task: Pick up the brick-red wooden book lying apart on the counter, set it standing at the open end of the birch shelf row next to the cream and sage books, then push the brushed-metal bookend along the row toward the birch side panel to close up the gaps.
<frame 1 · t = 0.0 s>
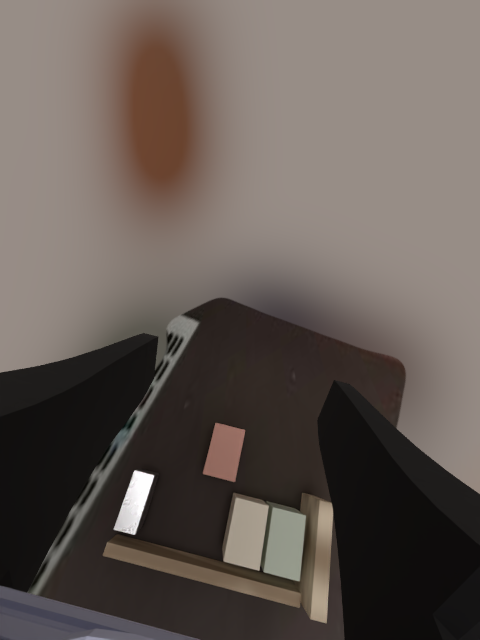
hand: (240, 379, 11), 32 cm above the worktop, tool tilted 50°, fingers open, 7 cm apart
book a: (276, 531, 35), on the worktop
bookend: (142, 496, 36), on the worktop
book b: (242, 522, 36), on the worktop
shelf: (303, 538, 35), on the worktop
book c: (223, 451, 39), on the worktop
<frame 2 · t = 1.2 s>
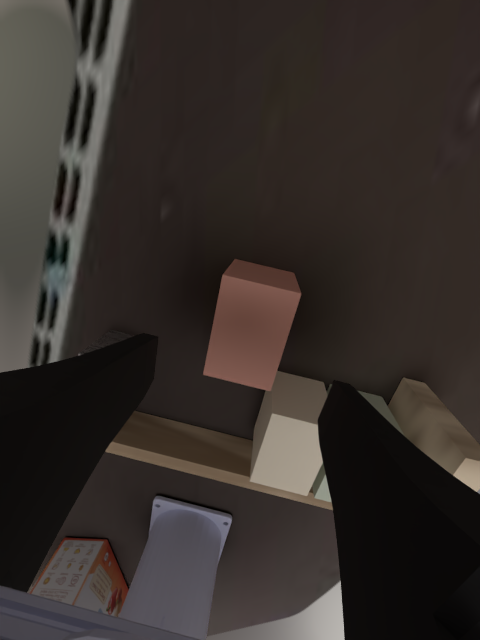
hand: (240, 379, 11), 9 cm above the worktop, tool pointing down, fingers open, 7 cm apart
cracker box: (105, 569, 34), on the worktop
book a: (341, 419, 22), on the worktop
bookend: (125, 365, 22), on the worktop
book b: (286, 405, 22), on the worktop
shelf: (385, 431, 22), on the worktop
book c: (254, 307, 19), on the worktop
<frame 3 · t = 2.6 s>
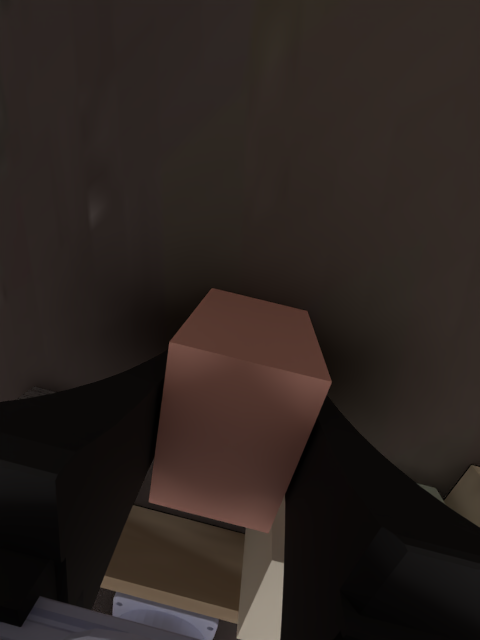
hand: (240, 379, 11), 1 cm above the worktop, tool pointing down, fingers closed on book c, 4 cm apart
book b: (293, 493, 15), on the worktop
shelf: (436, 532, 15), on the worktop
book c: (243, 361, 12), on the worktop, touching gripper
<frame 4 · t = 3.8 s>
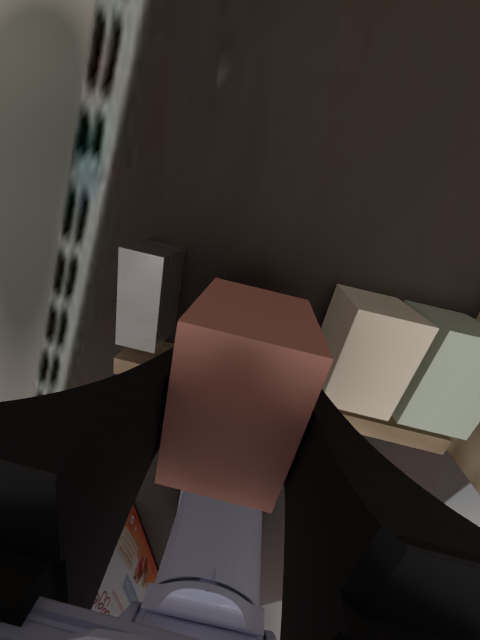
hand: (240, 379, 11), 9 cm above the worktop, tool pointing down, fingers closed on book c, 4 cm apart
cracker box: (128, 538, 32), on the worktop
book a: (413, 346, 19), on the worktop
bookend: (163, 286, 19), on the worktop
book b: (350, 330, 19), on the worktop
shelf: (464, 358, 19), on the worktop
book c: (246, 350, 13), point 7 cm above the worktop, touching gripper
when the fingers open (2 cm above the worktop, at t = 5.5 s): book c stays where it is, on the worktop.
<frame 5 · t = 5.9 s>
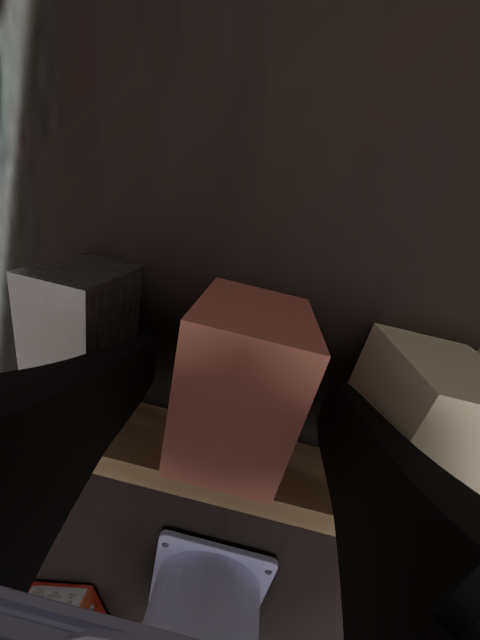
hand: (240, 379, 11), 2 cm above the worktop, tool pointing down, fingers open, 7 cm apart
cracker box: (92, 621, 25), on the worktop
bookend: (113, 320, 13), on the worktop
book b: (390, 389, 13), on the worktop, touching gripper
book c: (246, 348, 13), on the worktop
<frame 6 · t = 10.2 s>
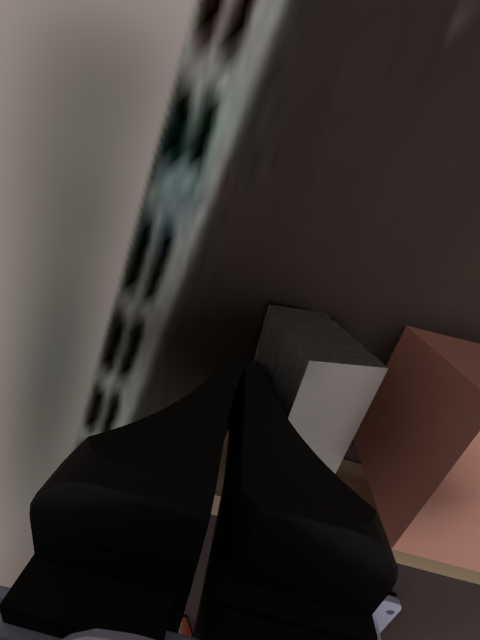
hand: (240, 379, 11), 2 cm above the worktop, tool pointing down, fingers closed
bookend: (278, 370, 12), on the worktop, tilted 17°, touching gripper
book c: (419, 395, 12), on the worktop
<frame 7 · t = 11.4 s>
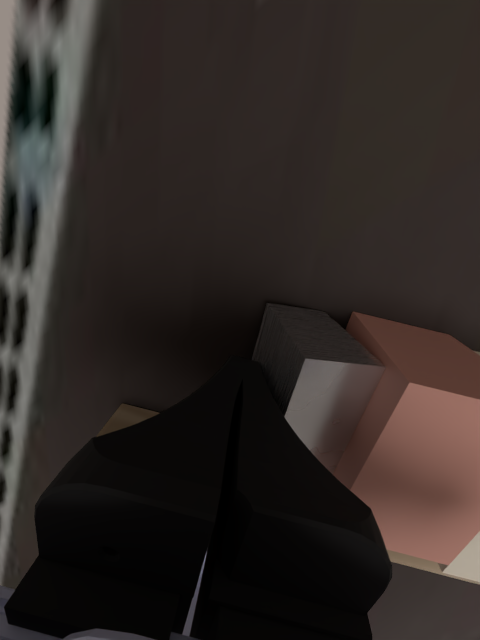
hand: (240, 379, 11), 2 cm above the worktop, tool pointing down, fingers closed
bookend: (276, 369, 12), on the worktop, tilted 16°, touching book c, gripper
book b: (455, 412, 12), on the worktop, touching book c
book c: (371, 383, 12), on the worktop, touching book b, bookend
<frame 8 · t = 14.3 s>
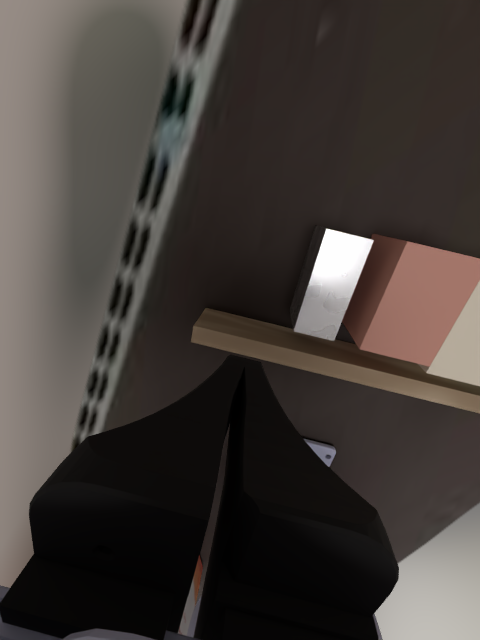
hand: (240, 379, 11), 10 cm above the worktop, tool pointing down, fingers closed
cracker box: (172, 523, 31), on the worktop
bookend: (319, 273, 19), on the worktop
book b: (437, 304, 19), on the worktop
book c: (383, 284, 19), on the worktop
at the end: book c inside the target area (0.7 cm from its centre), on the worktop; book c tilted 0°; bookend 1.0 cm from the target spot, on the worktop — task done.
